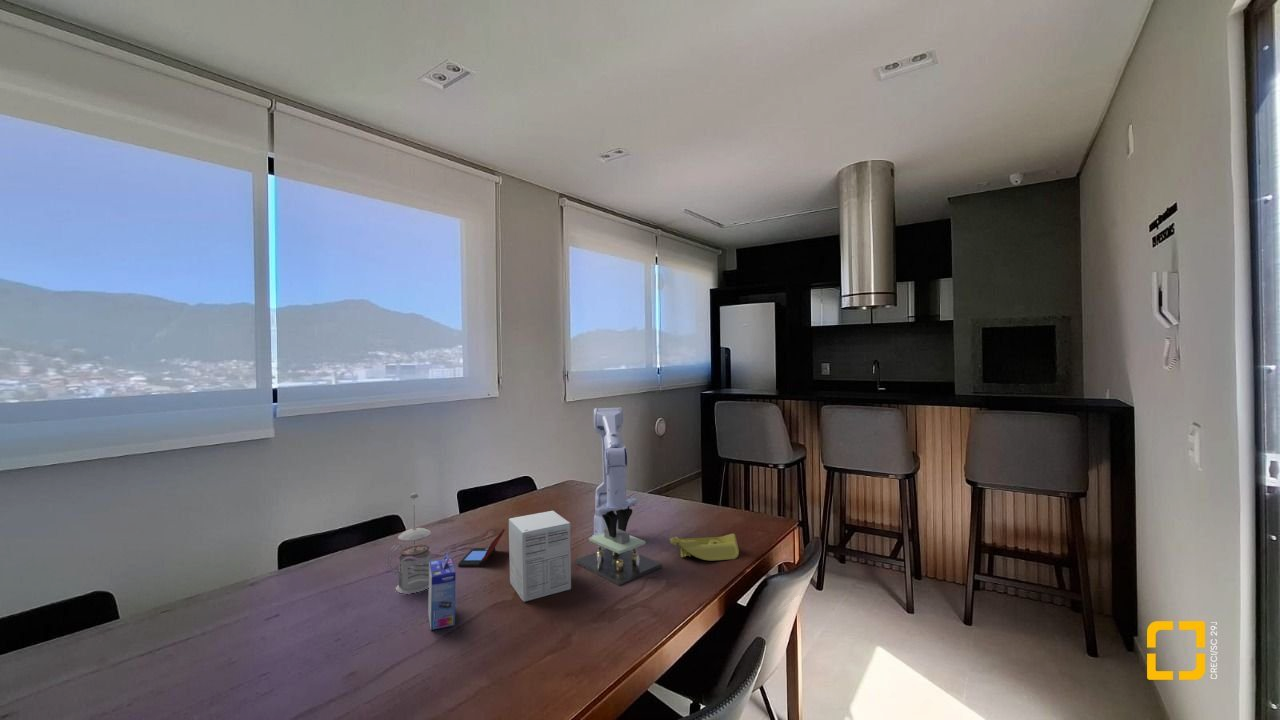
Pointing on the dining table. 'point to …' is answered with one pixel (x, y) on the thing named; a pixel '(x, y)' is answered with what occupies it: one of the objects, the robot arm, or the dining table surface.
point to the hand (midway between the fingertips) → (617, 535)
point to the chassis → (618, 565)
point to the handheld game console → (479, 554)
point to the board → (615, 545)
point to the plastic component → (708, 547)
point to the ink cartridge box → (441, 593)
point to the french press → (413, 560)
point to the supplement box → (539, 555)
